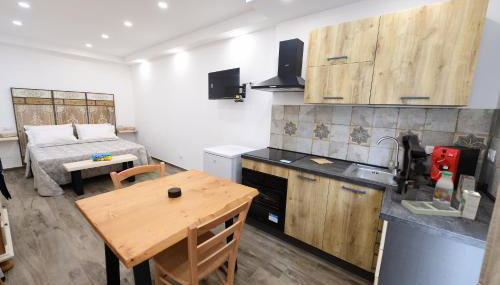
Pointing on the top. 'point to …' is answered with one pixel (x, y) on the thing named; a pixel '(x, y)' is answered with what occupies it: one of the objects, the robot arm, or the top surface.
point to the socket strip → (428, 209)
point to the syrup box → (469, 204)
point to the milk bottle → (444, 187)
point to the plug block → (410, 192)
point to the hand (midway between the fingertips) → (409, 193)
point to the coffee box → (466, 185)
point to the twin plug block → (441, 204)
